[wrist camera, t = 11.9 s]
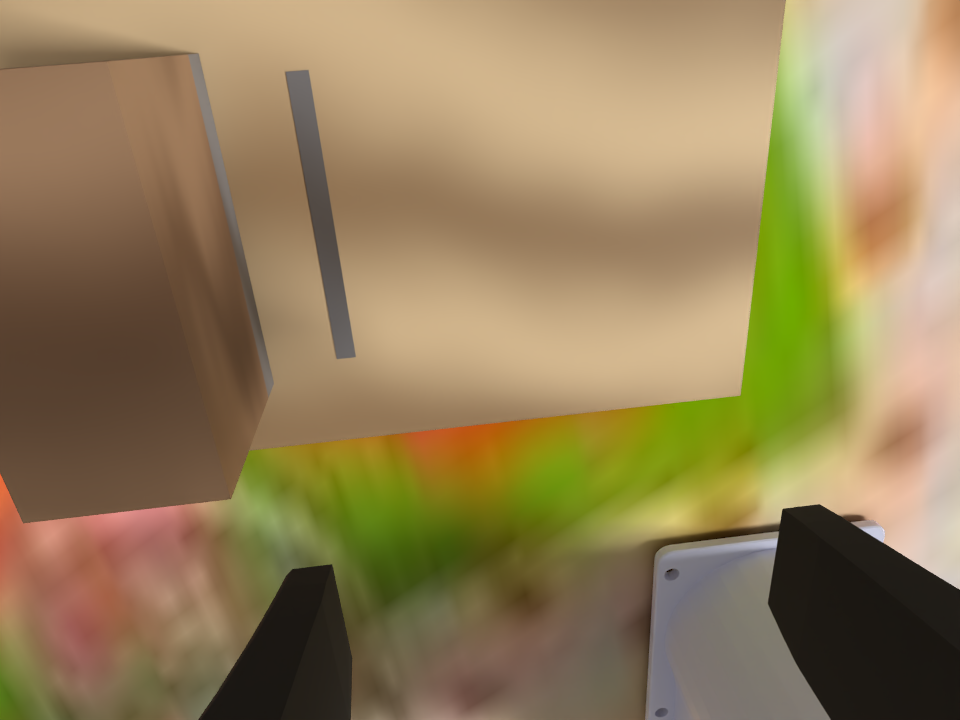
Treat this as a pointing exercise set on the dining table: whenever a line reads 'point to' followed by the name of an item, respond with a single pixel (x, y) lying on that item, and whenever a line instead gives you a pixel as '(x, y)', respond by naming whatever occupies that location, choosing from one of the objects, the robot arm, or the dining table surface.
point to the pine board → (472, 193)
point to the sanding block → (121, 293)
